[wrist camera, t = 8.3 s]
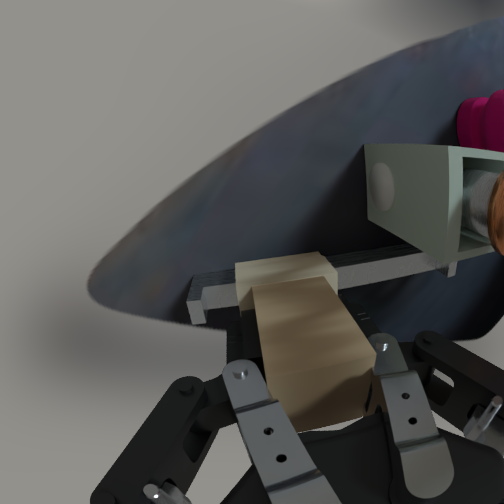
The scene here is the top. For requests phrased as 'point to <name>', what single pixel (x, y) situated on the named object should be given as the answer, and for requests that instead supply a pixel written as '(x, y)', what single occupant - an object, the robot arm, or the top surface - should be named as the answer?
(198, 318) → the rail
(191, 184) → the top surface
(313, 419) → the carriage
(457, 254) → the cabinet
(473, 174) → the plunger
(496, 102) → the pepper mill
